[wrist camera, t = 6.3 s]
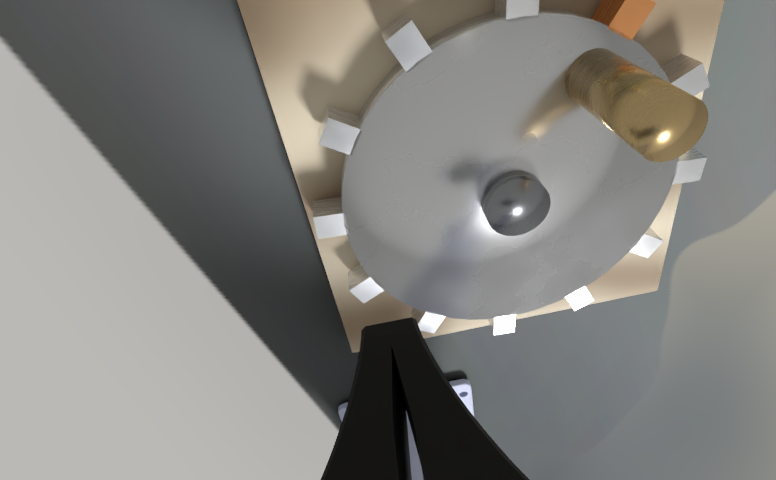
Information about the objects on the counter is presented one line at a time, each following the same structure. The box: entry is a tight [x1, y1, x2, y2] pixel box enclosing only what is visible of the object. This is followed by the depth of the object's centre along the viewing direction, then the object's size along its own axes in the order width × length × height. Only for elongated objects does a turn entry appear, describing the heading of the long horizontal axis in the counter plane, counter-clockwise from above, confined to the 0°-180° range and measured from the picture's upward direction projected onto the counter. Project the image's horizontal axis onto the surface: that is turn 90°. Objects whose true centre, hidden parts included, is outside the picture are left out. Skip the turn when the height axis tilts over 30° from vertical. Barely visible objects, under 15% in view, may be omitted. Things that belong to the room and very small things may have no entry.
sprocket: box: [313, 0, 710, 335], centre depth 17 cm, size 15×15×6 cm
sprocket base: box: [237, 0, 725, 353], centre depth 20 cm, size 17×16×1 cm
